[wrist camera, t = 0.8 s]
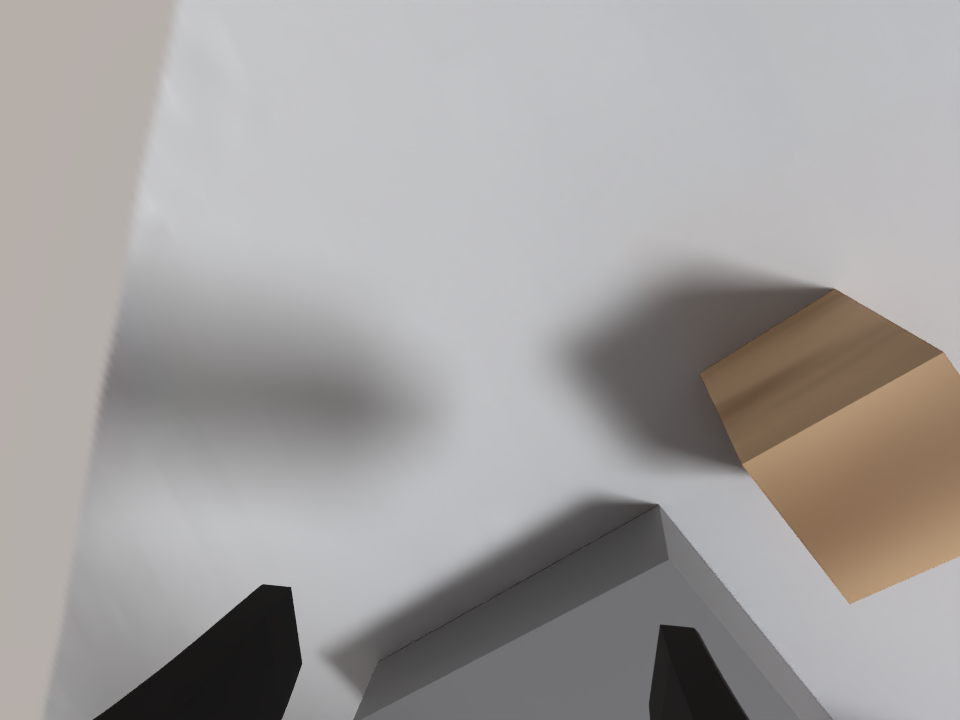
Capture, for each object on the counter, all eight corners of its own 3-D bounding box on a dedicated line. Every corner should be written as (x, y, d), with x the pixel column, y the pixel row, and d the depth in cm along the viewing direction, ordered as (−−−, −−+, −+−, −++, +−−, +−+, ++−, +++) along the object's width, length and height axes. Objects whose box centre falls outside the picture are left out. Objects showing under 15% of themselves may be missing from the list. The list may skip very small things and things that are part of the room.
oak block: (915, 403, 18) (1054, 514, 13) (778, 476, 20) (849, 604, 14) (834, 288, 18) (944, 352, 12) (699, 373, 19) (742, 464, 14)
